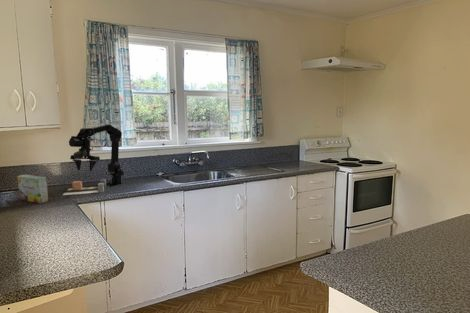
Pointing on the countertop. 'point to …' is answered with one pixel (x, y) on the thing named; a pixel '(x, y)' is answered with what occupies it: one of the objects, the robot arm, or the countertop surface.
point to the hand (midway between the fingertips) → (84, 170)
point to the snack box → (33, 188)
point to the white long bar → (100, 189)
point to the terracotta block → (77, 185)
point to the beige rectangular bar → (93, 187)
